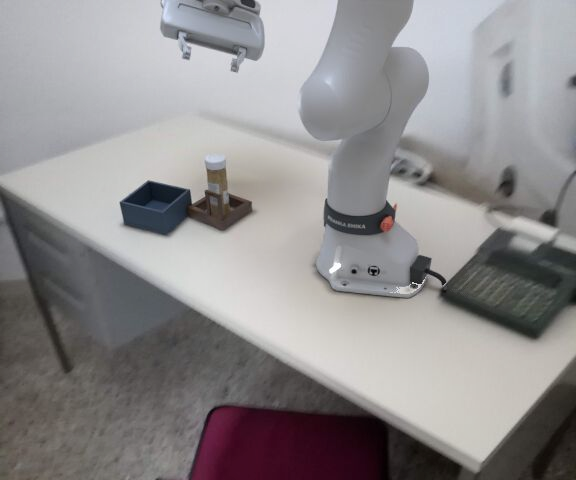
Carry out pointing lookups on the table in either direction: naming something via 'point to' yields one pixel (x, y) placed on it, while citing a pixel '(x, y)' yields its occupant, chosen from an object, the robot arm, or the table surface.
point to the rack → (219, 210)
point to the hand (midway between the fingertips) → (210, 63)
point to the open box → (156, 207)
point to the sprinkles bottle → (217, 181)
